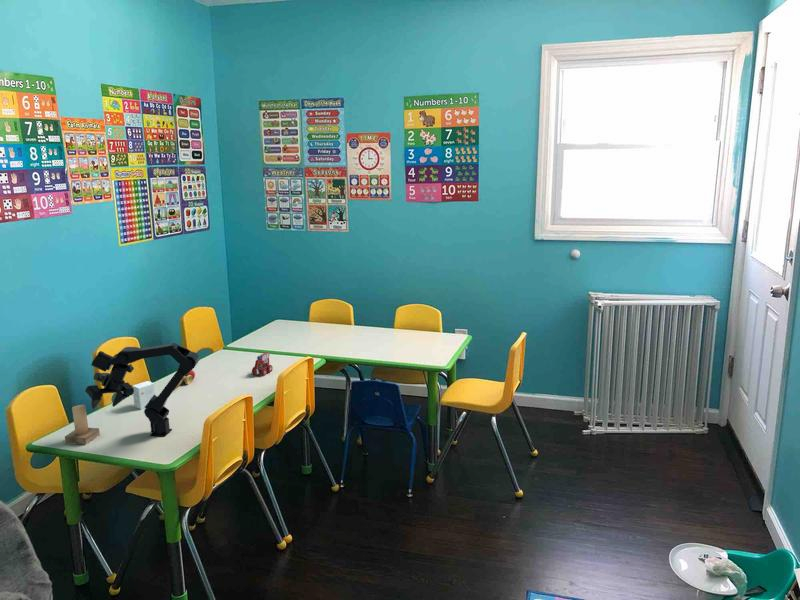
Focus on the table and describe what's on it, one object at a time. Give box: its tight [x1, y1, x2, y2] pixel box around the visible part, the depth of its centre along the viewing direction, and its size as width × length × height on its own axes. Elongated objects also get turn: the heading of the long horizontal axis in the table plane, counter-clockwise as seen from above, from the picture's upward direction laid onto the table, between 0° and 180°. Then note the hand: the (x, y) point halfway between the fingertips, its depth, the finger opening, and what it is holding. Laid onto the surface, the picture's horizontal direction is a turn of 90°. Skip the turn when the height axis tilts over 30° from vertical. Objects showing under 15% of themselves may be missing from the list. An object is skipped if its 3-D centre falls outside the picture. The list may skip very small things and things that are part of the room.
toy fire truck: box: [251, 351, 273, 377], centre depth 331 cm, size 7×12×10 cm, turn 157°
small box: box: [131, 380, 156, 410], centre depth 291 cm, size 8×6×10 cm
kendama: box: [174, 369, 196, 391], centre depth 317 cm, size 8×6×18 cm
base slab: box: [64, 427, 101, 445], centre depth 258 cm, size 9×9×3 cm
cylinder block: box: [71, 404, 89, 435], centre depth 257 cm, size 5×5×11 cm
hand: (103, 407), depth 260 cm, fingers open, 9 cm apart
